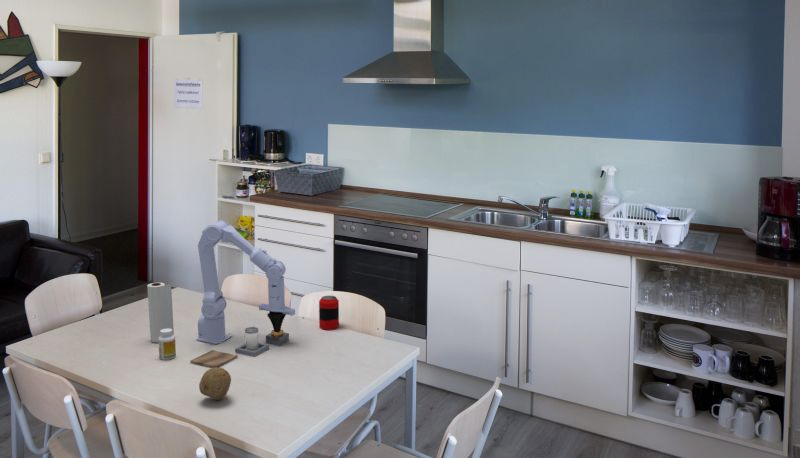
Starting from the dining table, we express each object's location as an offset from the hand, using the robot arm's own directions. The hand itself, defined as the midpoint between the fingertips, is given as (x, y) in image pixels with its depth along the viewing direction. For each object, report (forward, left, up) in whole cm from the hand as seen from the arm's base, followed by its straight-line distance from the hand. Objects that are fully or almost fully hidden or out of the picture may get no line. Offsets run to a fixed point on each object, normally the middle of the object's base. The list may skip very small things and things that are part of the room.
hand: (277, 331), depth 251 cm
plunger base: (0, 0, -4) cm, 4 cm away
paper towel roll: (-39, -18, -4) cm, 43 cm away
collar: (-3, -11, -4) cm, 12 cm away
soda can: (+8, +23, -4) cm, 25 cm away
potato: (+12, -48, -4) cm, 50 cm away
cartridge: (-3, -11, -4) cm, 12 cm away
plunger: (0, 0, -3) cm, 3 cm away
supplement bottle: (-25, -29, -4) cm, 39 cm away
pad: (-9, -24, -4) cm, 26 cm away
